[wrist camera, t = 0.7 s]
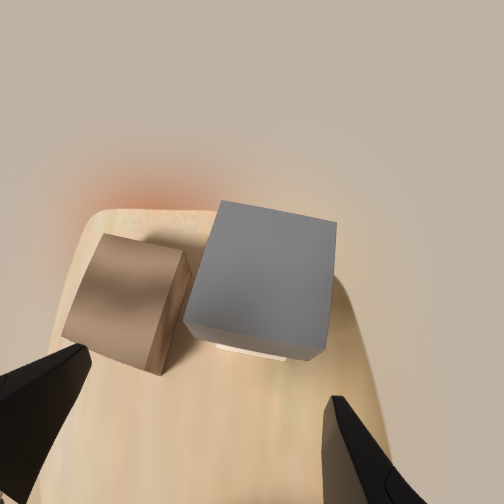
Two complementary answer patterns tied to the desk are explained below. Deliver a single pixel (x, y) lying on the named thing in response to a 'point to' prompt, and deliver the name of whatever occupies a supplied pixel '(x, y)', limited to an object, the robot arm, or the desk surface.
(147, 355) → the walnut block
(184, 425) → the desk surface
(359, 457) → the robot arm
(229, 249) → the gray block
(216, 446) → the desk surface
